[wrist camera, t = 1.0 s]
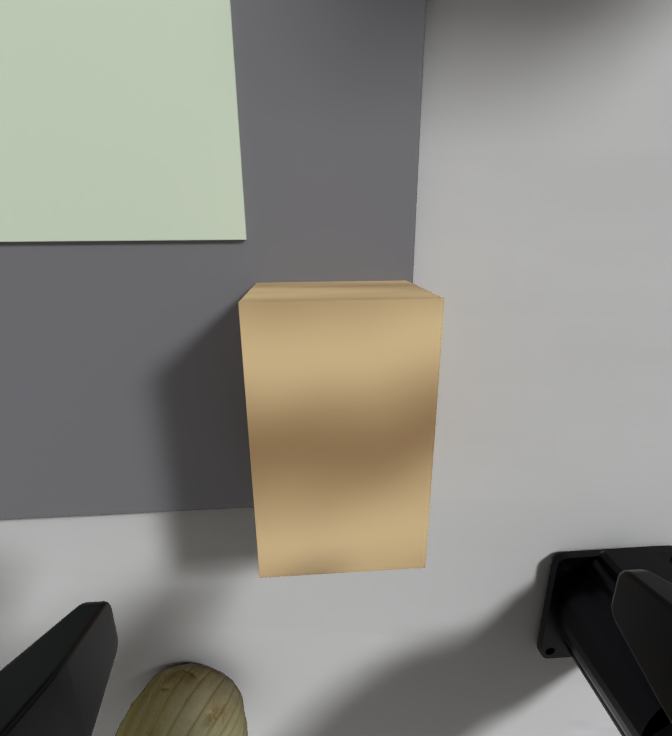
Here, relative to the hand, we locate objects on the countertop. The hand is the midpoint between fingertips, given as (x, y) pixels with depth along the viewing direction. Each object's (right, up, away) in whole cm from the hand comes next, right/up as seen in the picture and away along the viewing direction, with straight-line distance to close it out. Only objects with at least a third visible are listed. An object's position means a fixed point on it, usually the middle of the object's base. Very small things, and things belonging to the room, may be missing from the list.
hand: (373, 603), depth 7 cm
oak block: (-1, +3, +9) cm, 10 cm away
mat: (-7, +8, +8) cm, 13 cm away
